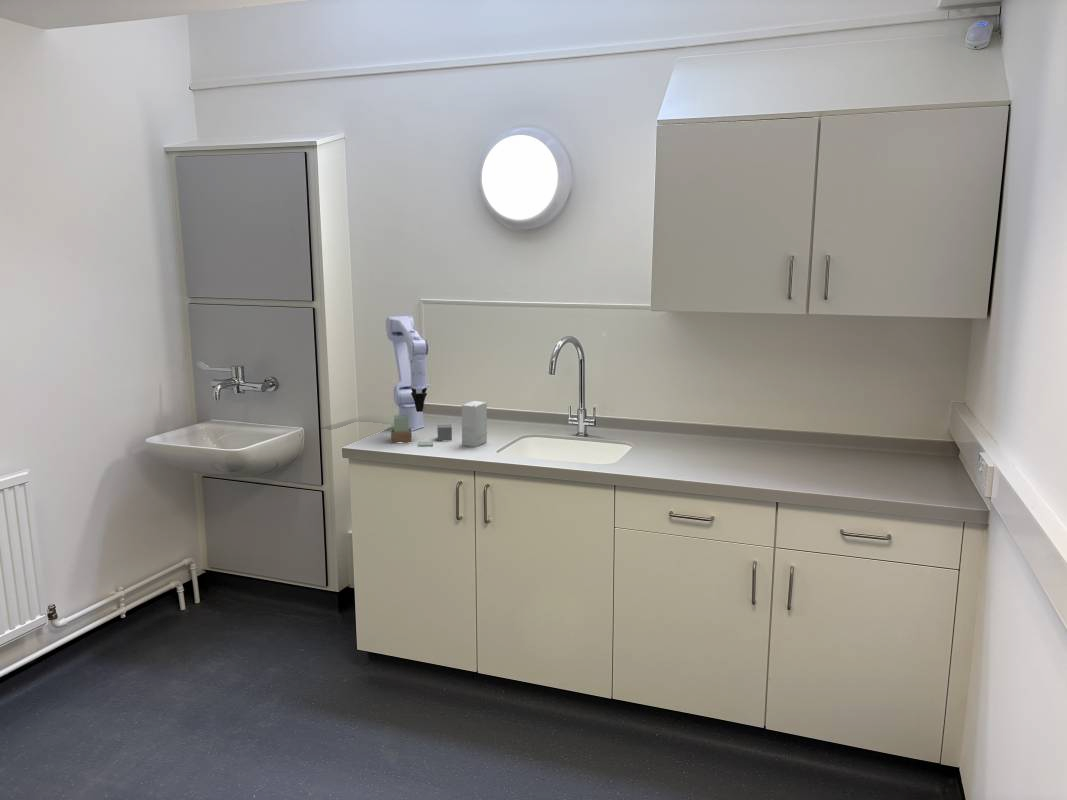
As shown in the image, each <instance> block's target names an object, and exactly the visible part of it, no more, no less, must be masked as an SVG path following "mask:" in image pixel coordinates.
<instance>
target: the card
mask: <svg viewBox="0 0 1067 800" xmlns="http://www.w3.org/2000/svg"><path fill="white" fill-rule="evenodd" d="M419 446H420V447H433V446H434V441H433V440H432V441H418V447H419Z"/></svg>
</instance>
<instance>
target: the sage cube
mask: <svg viewBox="0 0 1067 800" xmlns="http://www.w3.org/2000/svg"><path fill="white" fill-rule="evenodd" d="M393 429H394V431H395V432H409V426H408V415H399V414H397V415H393Z"/></svg>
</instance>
